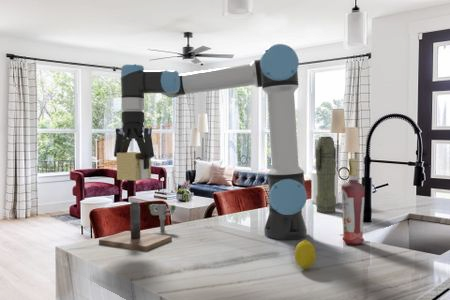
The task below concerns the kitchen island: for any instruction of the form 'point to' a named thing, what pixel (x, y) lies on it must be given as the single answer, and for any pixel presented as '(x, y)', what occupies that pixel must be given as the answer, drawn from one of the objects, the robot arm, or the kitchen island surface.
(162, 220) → the mechanical component
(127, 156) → the hollow square tube
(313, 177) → the bottle
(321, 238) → the kitchen island surface
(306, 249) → the lemon
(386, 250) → the kitchen island surface
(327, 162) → the thermos
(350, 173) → the liquor
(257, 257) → the kitchen island surface
